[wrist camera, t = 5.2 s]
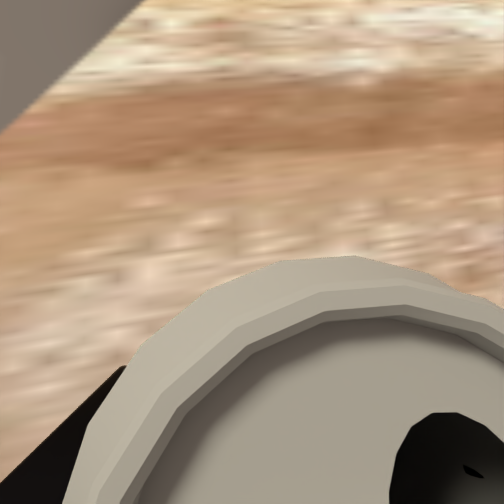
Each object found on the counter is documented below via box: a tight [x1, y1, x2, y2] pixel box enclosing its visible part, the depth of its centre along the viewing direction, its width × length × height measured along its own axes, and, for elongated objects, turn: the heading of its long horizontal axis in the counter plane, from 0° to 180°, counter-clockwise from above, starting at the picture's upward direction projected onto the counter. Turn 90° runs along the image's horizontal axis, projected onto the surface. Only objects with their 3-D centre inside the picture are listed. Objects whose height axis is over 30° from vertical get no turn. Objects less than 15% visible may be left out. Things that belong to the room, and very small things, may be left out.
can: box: [62, 256, 504, 504], centre depth 9 cm, size 8×8×12 cm
